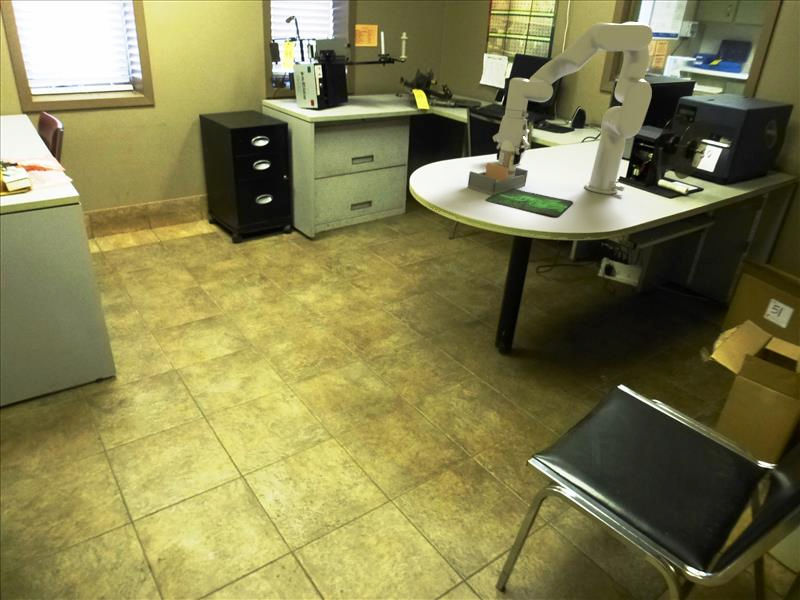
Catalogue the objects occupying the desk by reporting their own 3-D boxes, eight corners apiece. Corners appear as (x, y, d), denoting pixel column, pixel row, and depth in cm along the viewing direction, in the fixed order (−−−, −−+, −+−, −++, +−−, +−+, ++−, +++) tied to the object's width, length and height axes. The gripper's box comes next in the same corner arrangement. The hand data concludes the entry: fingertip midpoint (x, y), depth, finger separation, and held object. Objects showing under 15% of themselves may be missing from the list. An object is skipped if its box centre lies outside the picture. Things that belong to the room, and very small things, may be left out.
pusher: (505, 186, 216) (508, 168, 213) (497, 188, 213) (500, 170, 209) (486, 180, 221) (488, 162, 218) (478, 182, 218) (480, 164, 215)
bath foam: (504, 182, 218) (512, 128, 208) (492, 177, 223) (500, 124, 213) (517, 180, 221) (526, 127, 212) (505, 175, 226) (513, 123, 217)
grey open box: (525, 185, 224) (527, 170, 221) (492, 195, 209) (494, 179, 206) (500, 178, 231) (503, 163, 228) (467, 187, 216) (469, 171, 213)
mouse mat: (482, 201, 203) (482, 199, 203) (504, 188, 220) (504, 185, 220) (557, 219, 192) (557, 216, 192) (574, 203, 209) (574, 201, 209)
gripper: (541, 117, 208) (532, 165, 216) (501, 109, 218) (494, 155, 226) (529, 119, 203) (521, 168, 211) (490, 110, 213) (483, 158, 221)
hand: (507, 161), depth 219 cm, fingers closed on bath foam, 7 cm apart
